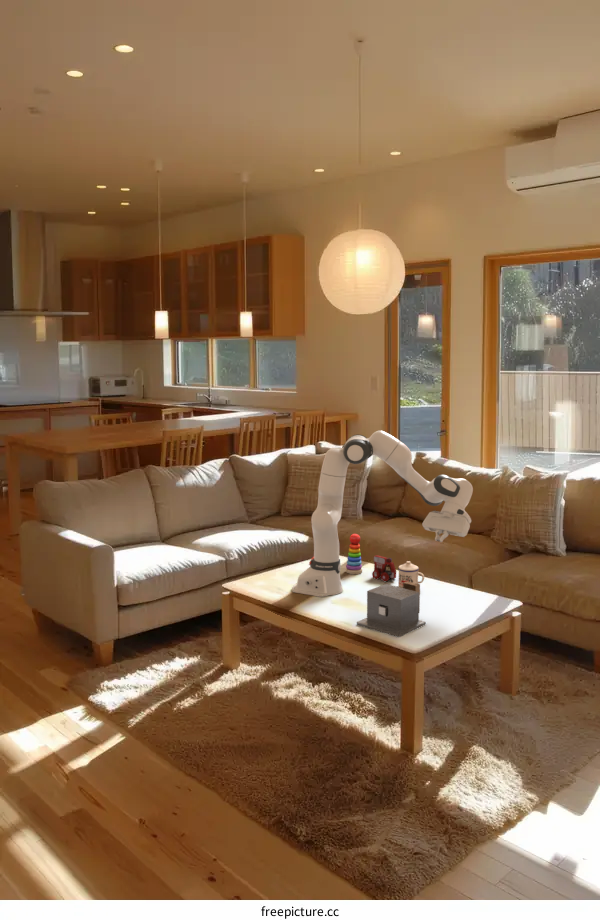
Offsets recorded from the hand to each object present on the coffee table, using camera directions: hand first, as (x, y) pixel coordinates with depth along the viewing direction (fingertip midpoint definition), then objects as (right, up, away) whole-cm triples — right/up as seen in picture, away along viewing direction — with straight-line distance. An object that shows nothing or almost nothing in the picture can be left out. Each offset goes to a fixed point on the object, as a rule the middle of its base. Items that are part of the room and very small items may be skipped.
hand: (438, 540), depth 336 cm
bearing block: (-21, -31, -19) cm, 42 cm away
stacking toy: (-32, -20, +50) cm, 63 cm away
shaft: (-19, -29, -16) cm, 38 cm away
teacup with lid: (-7, -24, +27) cm, 37 cm away
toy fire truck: (-18, -22, +40) cm, 49 cm away
